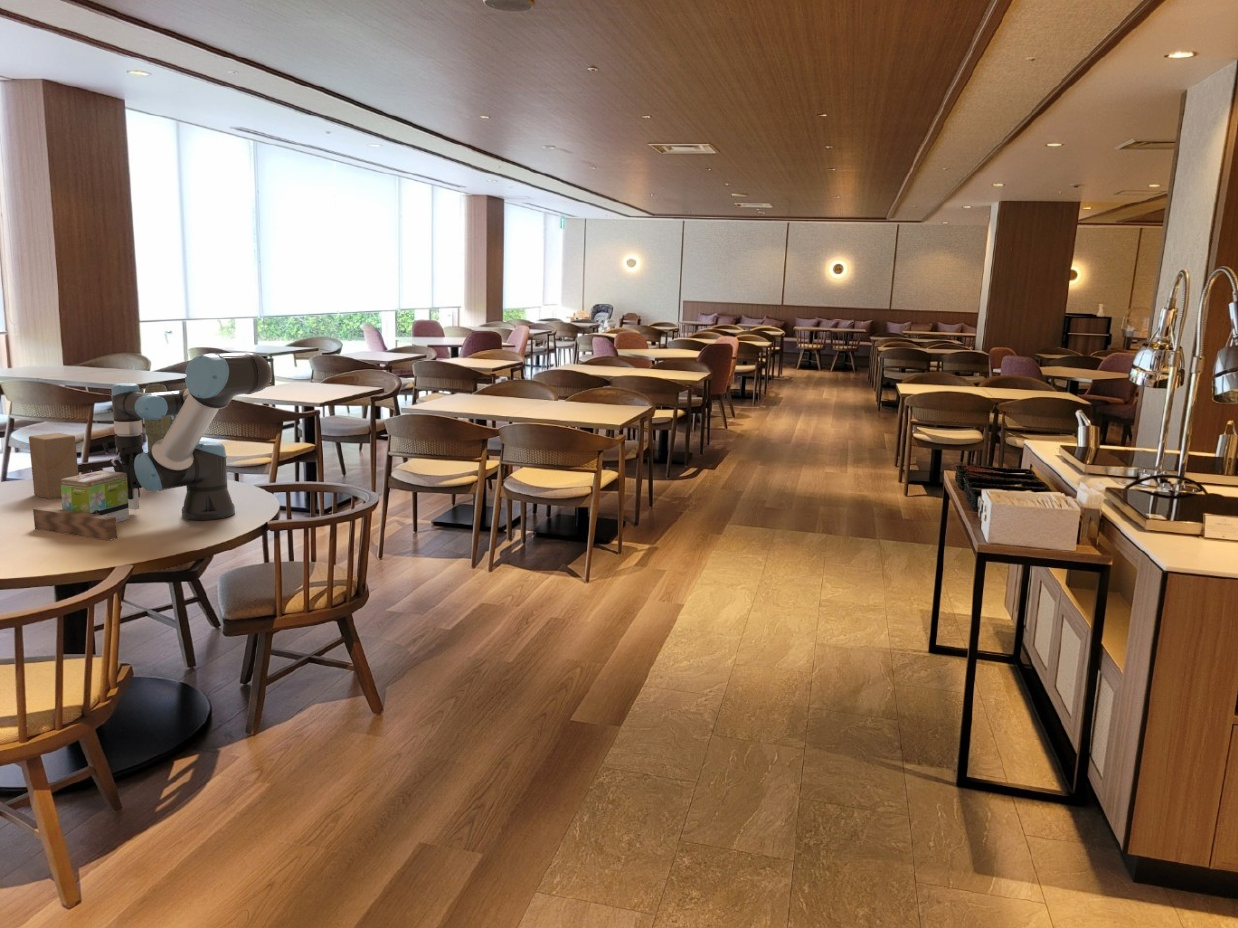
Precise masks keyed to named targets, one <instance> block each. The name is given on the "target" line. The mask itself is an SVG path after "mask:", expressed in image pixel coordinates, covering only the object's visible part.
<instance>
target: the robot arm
mask: <svg viewBox="0 0 1238 928" xmlns="http://www.w3.org/2000/svg"><path fill="white" fill-rule="evenodd" d="M185 374H186V376H184V381H185V388H184V389H181V390H172V391H170V390H169V391H168V390H167V391H168V392H156V393H145V392H141V389H140V386H139V384H138V383H134V382H133V383H132V382H131V383H130V382H122V383H121V382H120V383H114V384H113V385H111V397H110V398H111V404H112V415H113V417H112V418H113V429H114V434H116V435H114V442H115V443H114V444H115V445H114V446H115V447H116V449H117V450H116V456H115V457H114V458H110V459H109V463H110V464H111V466H112V468H113V472H121V473H127V488H128V505H129V510H134V511H136V510H139V509H140V499H139V498H140V497H141V492H140V489H141V488H143V490H146V491H148V492H150V493H151V492H162V491H166V490H167V491H168V490H172V489H176V488H182V487H186V493H185V497H184V501H183V506H182V508H181V517H182V518H183V519H186V520H193V521H209V520H212V521H213V520H219V519H224V518H229V517H231V516H233V515H234V514H235V513H236V509H235V507H236V506H235V504H234V503H233V500H232V497H231V494H230V492H229V488H228V471H227V470H228V469H227V458H228V457H227V453H226V448H225V446H224V444H222V443H220V442H215V441H204V440H203V441H202V440H201V439H202V437H203V436H204V434H205V433H206V431H207V430H208V428H209V426H210V424H211V423H212V421H213V420H214V418H215V417H216V415H217V413H218V411H219V409H220V410H221V409H224V408H227V407H228V406H229V405H230V403H231V401H232V400H233V398H234V397H237V396H239V395H252V394H255V393H259V392H261V391H263V390H265V389H266V388H267V387H268V386H269V384H270V383H271V381H272V377H273V376H272V375H273V372H272V368H271V365H270V364H269V363H268V361H267V360H266V359H265V358H264V357H263V356H261V355H259V354H258V353H255V352H249V351H244V352H243V351H242V352H228V353H227V352H226V353H224V352H222V353H215V352H210V353H206V354H199V355H196V356H195V357H193V358H191V360H190V361H189V362H188V364H187V365H186V368H185ZM174 415H176V418H175V420H174V419H173V420H172V425H171V427H170V428H169V430H168V432H167V433H166V435H165V437H164V439H161V440H158V441H157V442H155V443H154V445H153V446H152V448H151V450H150V451H149V452H148V451H147V452H145V451H144V449H143V446H144V436H143V434H142V433H143V427H142V420H141V418H143V420H144V419H146V420H158V419H161V418H162V417H167V416H171V417H174Z"/></svg>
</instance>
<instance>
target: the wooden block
mask: <svg viewBox="0 0 1238 928" xmlns="http://www.w3.org/2000/svg"><path fill="white" fill-rule="evenodd" d="M28 444H29V454H30V461H31V462H30V464H31V472H32V473H31V475H32V482H33V483H32V484H33V494H34V496H37V497H42V498H44V499H48V500H53V499H58V498H62V494H61V479H64V478H69V477H73V476H78V475H79V465H78V455H77V454H78V453H77V443H76V436H75V435H72V434H67V433H64V432H63V433H62V432H54V433H53V432H52V433H46V434H45V433H44V434H37V435H30V436H29V437H28Z"/></svg>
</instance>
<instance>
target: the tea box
mask: <svg viewBox="0 0 1238 928" xmlns="http://www.w3.org/2000/svg"><path fill="white" fill-rule="evenodd" d="M61 494H62V497H61V508H62V510H69V511H76V512H83V513H90V514H97V515H104V516H110V517H116V523H119V522H123V521H128V520H129V519H130V509H129V505H128V488H127V473H121V472H115V471H108V470H98V471H92V472H88V473H87V472H86V473H83V474H78V476H73V477H69V478H64V479H61Z"/></svg>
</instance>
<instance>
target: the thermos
mask: <svg viewBox="0 0 1238 928" xmlns="http://www.w3.org/2000/svg"><path fill="white" fill-rule="evenodd" d="M156 392H168V388H167V387H166V385H164V384H162V383H150V384H147V385H145V389H144V393H156ZM176 416H177V415H174V416H173V418H172V416H167V417H162V418H161V419H158V420H146V419H143V418H141V420H142V428H143V429H144V433H145V436H146V443H147V452H149V451H150V450H151V448H152V446H153V445H154V443H155V442H157V441H158V440H161V439H164V437H165V435H166V433H167V432H168V430H169V428H170V427H171V425H172V423H173V421H174V420H175V418H176ZM172 419H173V420H172Z"/></svg>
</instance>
